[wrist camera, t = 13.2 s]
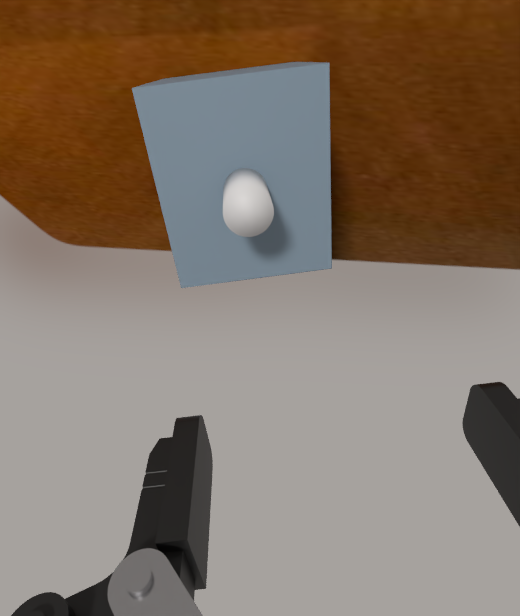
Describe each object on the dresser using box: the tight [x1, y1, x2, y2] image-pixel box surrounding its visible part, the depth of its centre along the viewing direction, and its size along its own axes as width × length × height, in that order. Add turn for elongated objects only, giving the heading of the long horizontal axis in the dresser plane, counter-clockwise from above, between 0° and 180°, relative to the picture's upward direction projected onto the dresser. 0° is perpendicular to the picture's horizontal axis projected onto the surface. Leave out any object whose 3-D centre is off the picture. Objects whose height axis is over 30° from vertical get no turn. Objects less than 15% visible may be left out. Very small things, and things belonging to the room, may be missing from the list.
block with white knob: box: [132, 62, 332, 288], centre depth 33 cm, size 13×15×20 cm
